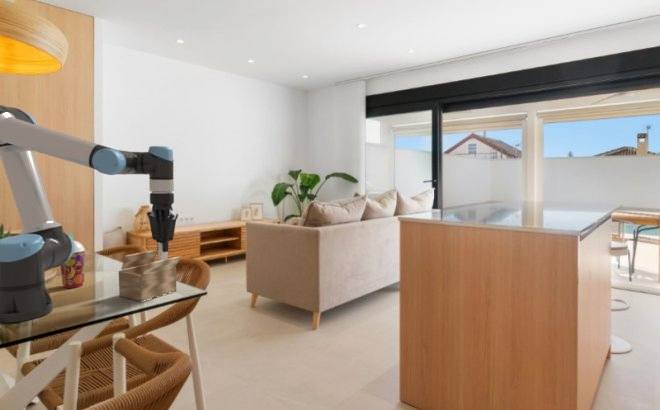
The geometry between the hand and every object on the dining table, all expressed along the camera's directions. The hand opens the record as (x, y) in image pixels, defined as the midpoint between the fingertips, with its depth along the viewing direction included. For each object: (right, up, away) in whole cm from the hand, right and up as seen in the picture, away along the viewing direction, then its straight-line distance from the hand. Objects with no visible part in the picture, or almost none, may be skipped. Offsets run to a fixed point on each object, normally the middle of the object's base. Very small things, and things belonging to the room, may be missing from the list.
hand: (163, 260), depth 135 cm
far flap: (-12, -3, +7) cm, 14 cm away
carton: (-7, -12, +5) cm, 15 cm away
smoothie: (-39, -12, +13) cm, 43 cm away
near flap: (-2, -4, +1) cm, 4 cm away
